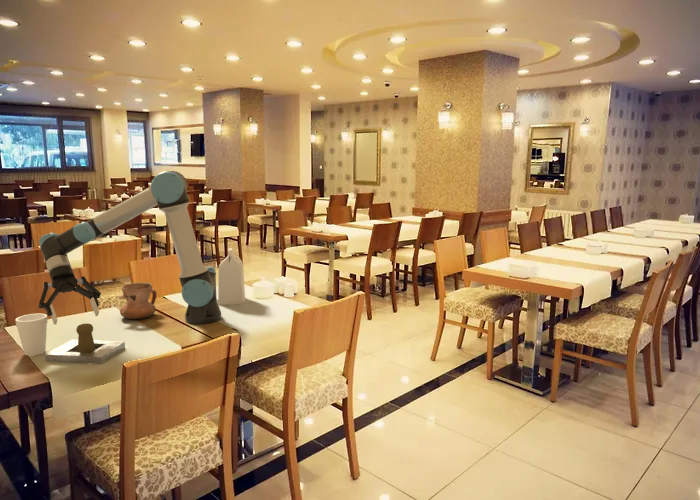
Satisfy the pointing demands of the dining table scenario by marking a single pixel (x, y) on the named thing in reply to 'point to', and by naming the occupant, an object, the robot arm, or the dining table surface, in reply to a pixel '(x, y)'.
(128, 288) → the ceramic jug
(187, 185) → the robot arm
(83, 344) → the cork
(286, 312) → the dining table surface
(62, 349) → the plate
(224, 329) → the dining table surface
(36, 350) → the foam cup
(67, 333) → the dining table surface
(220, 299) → the milk
